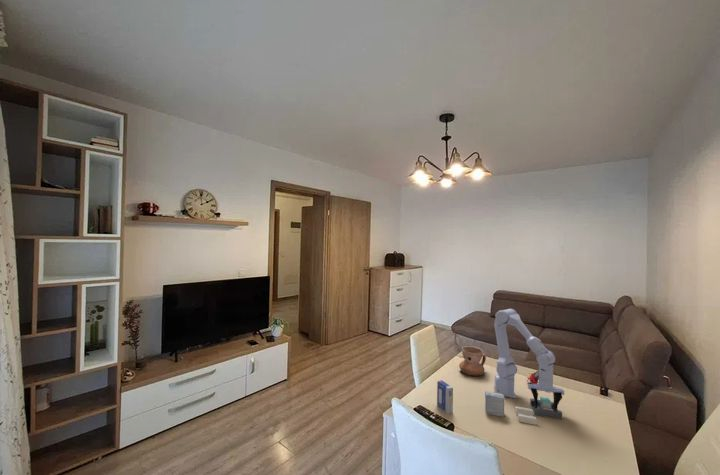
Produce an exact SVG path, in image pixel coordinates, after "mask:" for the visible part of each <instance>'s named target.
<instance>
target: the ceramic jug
mask: <svg viewBox="0 0 720 475" xmlns="http://www.w3.org/2000/svg"><path fill="white" fill-rule="evenodd" d="M458 357H459V358H463V359H464V360H462V361H461V362H460V363H459V365H458V367H459V369H460V371H461V372H462V373H464V374H466V375H469V376H473V377H475V376H476V377H477V376H481V375H483V374H484V373H485V370H486V369H485V367H484V365H485V362H486V361H487V360H486V358H487V357H486V355H485V354H484V350H483V349H481V348H480V347H477V346H470V345H466V346H462V347H461V354H459V356H458Z"/></svg>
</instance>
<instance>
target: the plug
mask: <svg viewBox="0 0 720 475" xmlns="http://www.w3.org/2000/svg"><path fill="white" fill-rule="evenodd" d="M539 400H540V407H543V408H549V409H551V402H552V401H551V399H550V398H548V397H543V396H541V397H539Z"/></svg>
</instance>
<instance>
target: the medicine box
mask: <svg viewBox="0 0 720 475" xmlns="http://www.w3.org/2000/svg"><path fill="white" fill-rule="evenodd" d="M484 398H485V399H484V401H485V402H484V410H485V414H486V415H492V416H497V417H503V418H505V399H506V398H505V396H503V394H500V393H495V391H494V392H493V391H487V390H486V391H485V392H484Z"/></svg>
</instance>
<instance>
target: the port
mask: <svg viewBox="0 0 720 475" xmlns="http://www.w3.org/2000/svg"><path fill="white" fill-rule="evenodd" d="M553 402H554V401H551V409H549V408H543V407H540V399H538V406H536V405H535V401H534V398H529V405H530V407H531V408H530V409H532V410H533V416H534V415H535V416H540V417H545V418H551V419H556V420H561V421H562V420H563V412H562V411H561V410H559V409H558V408H557V409H554V407H553Z"/></svg>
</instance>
